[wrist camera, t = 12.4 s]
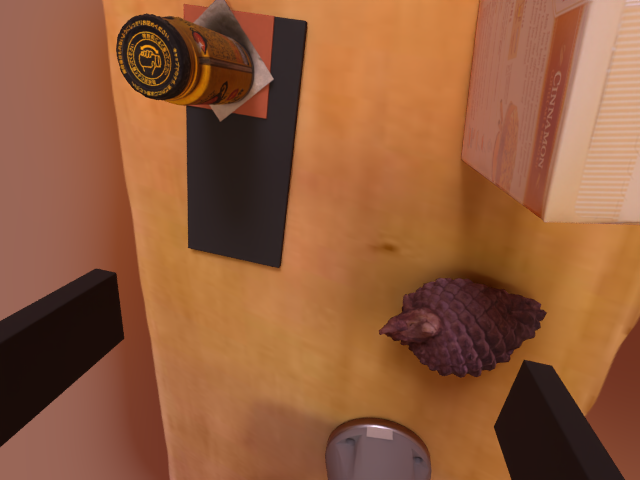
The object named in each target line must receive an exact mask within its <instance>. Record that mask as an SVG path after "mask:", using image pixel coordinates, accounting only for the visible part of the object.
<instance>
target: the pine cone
mask: <svg viewBox="0 0 640 480" xmlns="http://www.w3.org/2000/svg"><path fill="white" fill-rule="evenodd" d="M540 307H541V304H540V303H538V302H537V301H535V300H533V299H528V298H525V297H523V296H521V295H515V294H508V293H507V292H506V291H505V290H504V289H495V288H490V287H488V286H486V285H485V284H483V285H482V284H478V283H473V282H472V281H471V280H469V279H461V278H457V279H455V280H452V279H451V278H445V279H443V278H438V279H436V281H435V282H429V283H426V284H424V285H423V287H422V288H421V287H420V288H419V289H418V290H416V292H415V293H410V294H408V295H407V294H405V295H404V297H403V307H402V311H403V312H402V313H401V314H399V315H398V316H394V317H392V318H391V319H390V320H388V323H387V324H386V325H384V327H383V328H382V329H380V330H379V334H380V335H381V334H385V335H387V336H388V337H391V338H392V339H393V340H394V341H399V340H401V343H400V344H401V345H409V350H411V351H413V353H414V355H416V356H417V358H418V359H419V360H420V363H422V364H423V365H428V367H429V369H430V370H432V371H435V370H437V371H438V373H439V375H442V376H447V375H450V374H454V375H456V376H458V377H460V378H461V377H465V375H466V374H468V373H469V374H470V375H472V376H474V377H478V376H480V375H481V371H482V370H489V371H491V370H493V369H495V366H496V363H502V362H503V363H504V362H509V360H510V355H511V354H512V353H513V351H514V349H517V348H519V347H520V346H521V344H522V342H523V341H525V340H527V339H531V338H534V337H535V330H538V329H539V328H540V322H539V321H542V320H543V319H544V317H545V315H546V314H547V313H546V312H545V311H544V310H540Z"/></svg>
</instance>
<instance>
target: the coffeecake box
mask: <svg viewBox="0 0 640 480" xmlns="http://www.w3.org/2000/svg"><path fill="white" fill-rule="evenodd" d="M461 160H463V161H464V162H465V163H467V164H468V165H469V166H471V167H472V168H473V169H475V170H476V171H478V172H479V173H480V174H482V175H483V176H484V177H486V178H487V179H488V180H490V181H491V182H492V183H494V184H495V185H496V186H498V187H499V188H500V189H502V190H503V191H505V192H506V193H507V194H509V195H510V196H511V197H513V198H514V199H515V200H517V201H518V202H519V203H521V204H522V205H523V206H525V207H526V208H527V209H529V210H530V211H531V212H533V213H534V214H535V215H537V216H538V217H540V218H541V219H542V220H543V221H544V222H562V223H590V224H591V223H598V224H628V225H640V0H480V5H479V13H478V20H477V29H476V37H475V46H474V54H473V63H472V71H471V79H470V87H469V96H468V104H467V113H466V121H465V130H464V139H463V148H462V157H461Z"/></svg>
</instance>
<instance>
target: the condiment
mask: <svg viewBox="0 0 640 480" xmlns="http://www.w3.org/2000/svg"><path fill="white" fill-rule="evenodd" d="M116 52H117V59H118V62H119V66H120V70H121V72H122V74H123V75H124V77H125V79H126V80H127V82H128V83H129V84H130V85H131V87H132V88H133V89H134V90H135V91H137V92H139V93H141V94H142V95H144V96H145V97H147V98H150V99H155V100H164V101H167V102H169V103H172V104H176V105H210V107H211V108H212V110H213V111H214V113H215V114H216V116H217V117H218V119H219V121H220V122H221V121H222V120H223V119H224V118H226V117H227V116H228V115H230V114H231V113H232V112H233V111H235V110H236V109H237V108H239V107H240V106H241V105H242V104H244V103H245V102H246V101H247V100H249V99H250V98H251V97H252V96H254V95H255V94H256V93H257V92H258V91H260V90H261V89H262V88H263V87H264V86H266V85H267V84H268V83H269V82H271V81H272V80H273V77H272V75H271V74H270V72H269V70H268V69H267V67H266V66H265V64H264V62H263V61H262V59H261V58H260V56H259V54H258V53H257V51H256V49H255V48H254V46H253V45H252V43H251V41H250V40H249V38H248V37H247V35H246V34H245V32H244V31H243V29H242V28H241V26H240V24H239V22H238V21H237V19H236V18H235V16H234V14H233V13H232V11H231V10H230V8H229V7H228V5H227V4H226V2H225V0H215V1H214V2H213V3H212V4H211V5H210V6H209V7H208V8H207V10H205V11H204V12H203V14H202V15H201V16H200V17H199V18H198V19H197V20H196V21H195V22H193V23H192V22H189V21H187V20H184V19H181V18H179V17H172V16H168V17H160V16H156V15H153V14H151V15H149V14H144V15H139V16H135V17H133V18H131V19H130V20H128V21H127V23H126V24H125V25H124V26H123V27H122V29H121V31H120V33H119V34H118V37H117V48H116Z"/></svg>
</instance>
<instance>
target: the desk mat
mask: <svg viewBox="0 0 640 480" xmlns="http://www.w3.org/2000/svg"><path fill="white" fill-rule="evenodd" d="M207 8H208V7H202V6H195V5H187V4H184V20H187V21H189V22H192V23H193V22H195V21H196V20H197V19H198V18H199V17H200V16H201V15H202V14H203V12H204V11H205V10H207ZM231 11H232V10H231ZM232 13H233V14H234V16H235V18H236V19H237V21H238V22H239V24H240V26H241V28H242V29H243V31H244V32H245V34H246V35H247V37H248V38H249V40H250V41H251V43H252V45H253V46H254V48H255V49H256V51H257V53H258V54H259V56H260V58H261V59H262V61H263V62H264V64H265V66H266V67H267V69H268V70H269V72H270V74H271V75H272V77H273V80H272V81H271V82H269V83H268V84H267V85H266V86H264V87H263V88H262V89H261V90H260V91H258V92H257V93H256V94H255V95H254V96H252V97H251V98H250V99H249V100H247V101H246V102H245V103H244V104H242V105H241V106H240V107H239V108H237V109H236V110H235V111H233V112H232V113H231V114H230V115H228V116H227V117H226V118H224V119H223V120H222V121H221V122H220V121H219V119H218V117H217V116H216V114H215V113H214V111H213V110H212V108H211V107H210V105H186V114H187V186H188V248H191V249H195V250H200V251H204V252H209V253H213V254H218V255H222V256H227V257H231V258H236V259H240V260H245V261H249V262H254V263H258V264H263V265H267V266H272V267H276V268H279V267H280V266H281V257H282V248H283V238H284V229H285V220H286V211H287V202H288V193H289V184H290V175H291V166H292V157H293V148H294V138H295V129H296V120H297V111H298V102H299V93H300V84H301V75H302V66H303V57H304V48H305V39H306V29H307V22H306V21H303V20H295V19H288V18H280V17H274V16H269V15H262V14H254V13H247V12H239V11H232Z"/></svg>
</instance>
